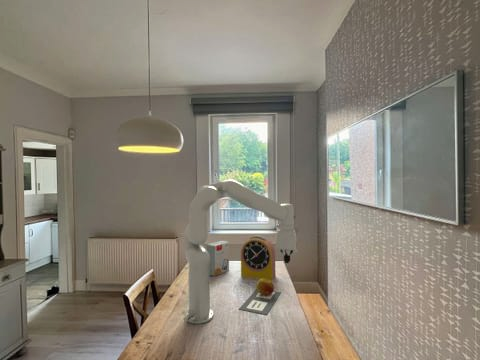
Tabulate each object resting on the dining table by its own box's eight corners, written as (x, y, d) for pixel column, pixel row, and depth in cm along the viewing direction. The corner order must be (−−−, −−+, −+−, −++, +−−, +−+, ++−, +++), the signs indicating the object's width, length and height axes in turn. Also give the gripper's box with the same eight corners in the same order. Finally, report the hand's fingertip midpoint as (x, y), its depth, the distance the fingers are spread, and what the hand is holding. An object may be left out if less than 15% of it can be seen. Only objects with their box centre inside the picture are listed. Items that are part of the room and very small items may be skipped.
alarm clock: (240, 276, 168) (240, 235, 168) (245, 271, 176) (245, 233, 177) (272, 280, 160) (271, 238, 160) (275, 275, 168) (275, 235, 168)
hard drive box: (214, 276, 168) (214, 246, 168) (206, 274, 173) (205, 244, 173) (229, 270, 180) (229, 241, 181) (221, 268, 185) (221, 240, 185)
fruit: (277, 294, 140) (277, 279, 140) (267, 299, 133) (267, 284, 134) (264, 289, 147) (263, 274, 147) (253, 294, 140) (253, 279, 140)
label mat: (266, 315, 119) (266, 314, 119) (238, 309, 124) (238, 308, 124) (281, 292, 143) (281, 291, 143) (257, 288, 148) (257, 287, 148)
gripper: (270, 227, 135) (271, 263, 135) (299, 229, 129) (300, 266, 129) (274, 225, 142) (275, 258, 142) (302, 227, 136) (302, 261, 136)
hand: (287, 262), depth 135 cm, fingers closed
